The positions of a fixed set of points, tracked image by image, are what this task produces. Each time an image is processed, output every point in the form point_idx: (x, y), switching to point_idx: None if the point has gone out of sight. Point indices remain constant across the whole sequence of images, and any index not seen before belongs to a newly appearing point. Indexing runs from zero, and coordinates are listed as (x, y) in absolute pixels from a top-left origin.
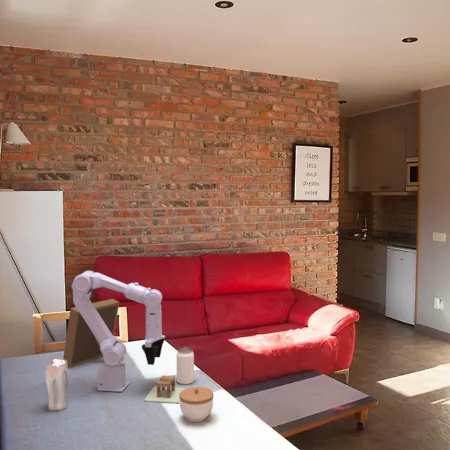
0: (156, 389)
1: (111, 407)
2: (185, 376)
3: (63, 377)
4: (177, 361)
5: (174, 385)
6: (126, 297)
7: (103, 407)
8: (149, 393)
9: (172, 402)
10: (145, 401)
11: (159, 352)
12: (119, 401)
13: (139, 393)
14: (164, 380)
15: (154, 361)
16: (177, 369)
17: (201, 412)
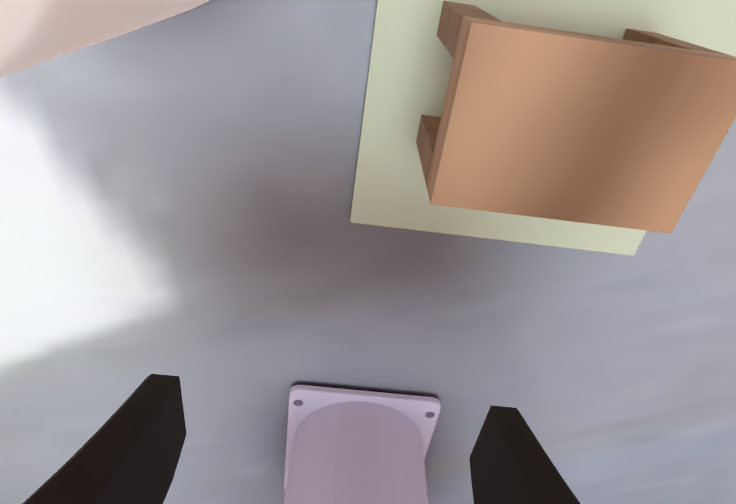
0: (424, 193)
1: (659, 404)
2: None
3: None
4: (96, 32)
5: (472, 10)
6: None
7: (644, 435)
8: (505, 236)
9: None
10: (635, 240)
11: (139, 451)
12: (581, 384)
13: (468, 300)
14: (612, 156)
15: (514, 438)
16: (161, 13)
17: None
